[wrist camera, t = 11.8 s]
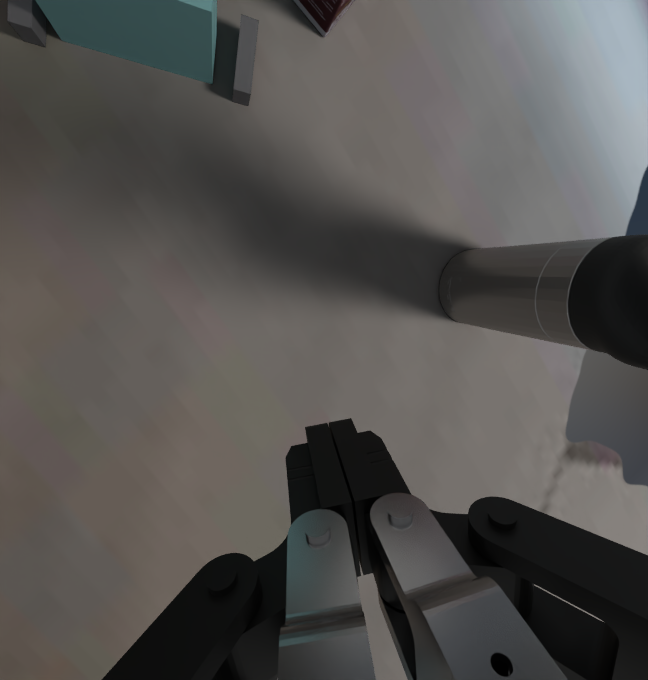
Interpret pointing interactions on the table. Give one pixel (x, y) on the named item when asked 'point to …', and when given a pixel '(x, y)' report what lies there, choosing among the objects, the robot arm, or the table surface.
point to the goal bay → (33, 30)
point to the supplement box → (324, 12)
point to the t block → (142, 31)
